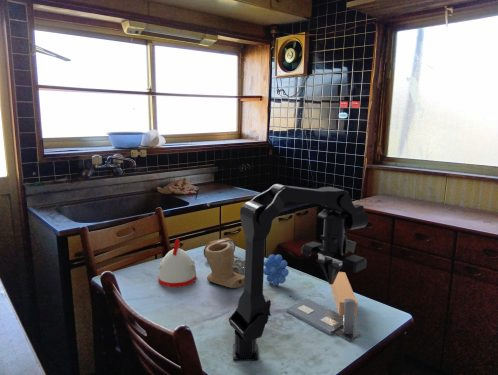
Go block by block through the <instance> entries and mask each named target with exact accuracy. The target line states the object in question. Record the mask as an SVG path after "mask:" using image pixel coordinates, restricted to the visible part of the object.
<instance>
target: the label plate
mask: <svg viewBox="0 0 498 375" xmlns="http://www.w3.org/2000/svg"><path fill="white" fill-rule="evenodd" d="M285 312H287V313H288V314H290V315H292V316H294V317H295V318H298V319H300V320H301V321H303V322H304V323H307V324H309V325H311V326H312V327H314V328H316V329H319V330H320V331H322V332H324V333H325V334H327V335H329V336H332V335H333V334H335V332H336V331H338V330H339V329H341V328H343V315H339V314H338V312H336V311H334V310H332V309H331V308H328V307H325V306H323V305H321V304H319V303H317V302H315V301H313V300H311V299H309V298H306V299H304V300H302V301H299V302H297V303H295V304H293V305H291V306H288V307H287V308H286V311H285Z"/></svg>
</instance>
